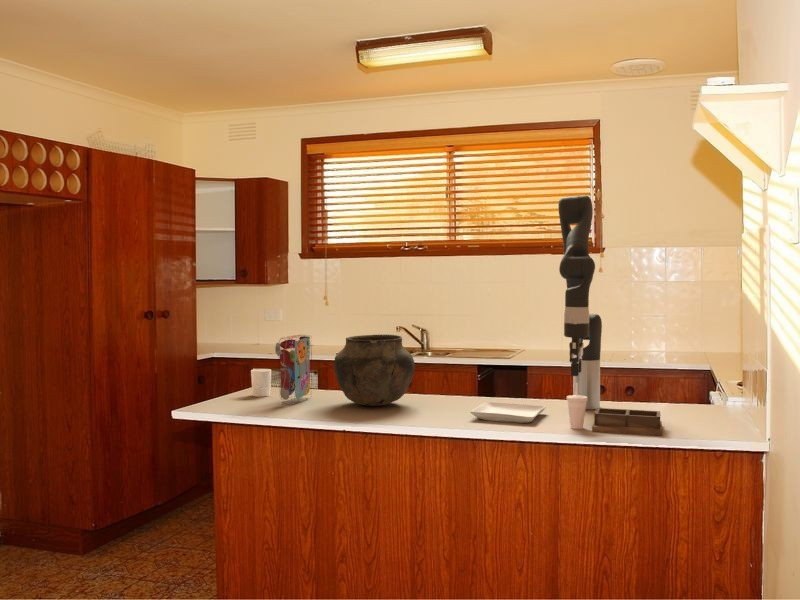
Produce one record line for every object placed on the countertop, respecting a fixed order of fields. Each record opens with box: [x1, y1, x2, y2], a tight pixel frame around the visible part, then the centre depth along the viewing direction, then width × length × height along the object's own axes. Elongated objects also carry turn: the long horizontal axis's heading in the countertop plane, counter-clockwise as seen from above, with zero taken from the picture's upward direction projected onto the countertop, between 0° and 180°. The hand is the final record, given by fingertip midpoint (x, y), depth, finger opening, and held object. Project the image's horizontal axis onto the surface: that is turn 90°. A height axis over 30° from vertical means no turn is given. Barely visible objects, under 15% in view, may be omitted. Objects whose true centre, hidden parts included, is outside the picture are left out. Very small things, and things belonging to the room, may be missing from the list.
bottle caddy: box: [591, 407, 663, 437], centre depth 231 cm, size 15×20×5 cm
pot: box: [333, 334, 415, 407], centre depth 271 cm, size 29×32×25 cm
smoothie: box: [565, 382, 587, 430], centre depth 232 cm, size 6×6×14 cm
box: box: [274, 334, 313, 406], centre depth 277 cm, size 25×6×24 cm, turn 163°
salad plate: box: [469, 401, 547, 424], centre depth 250 cm, size 21×21×3 cm
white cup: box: [250, 368, 272, 398], centre depth 294 cm, size 8×8×10 cm
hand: (576, 374), depth 232 cm, fingers open, 8 cm apart
